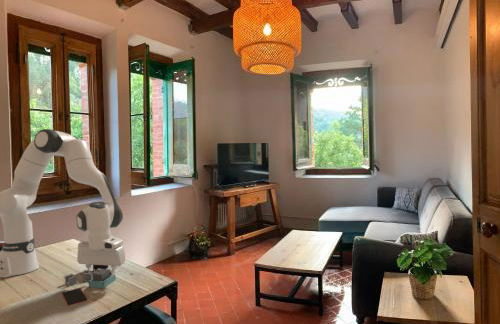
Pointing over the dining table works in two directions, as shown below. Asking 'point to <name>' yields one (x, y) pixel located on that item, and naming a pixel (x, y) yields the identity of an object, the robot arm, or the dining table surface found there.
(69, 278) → the clip
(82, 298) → the smartphone
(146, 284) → the dining table surface
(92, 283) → the dock
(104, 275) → the connector plug
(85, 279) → the clip
